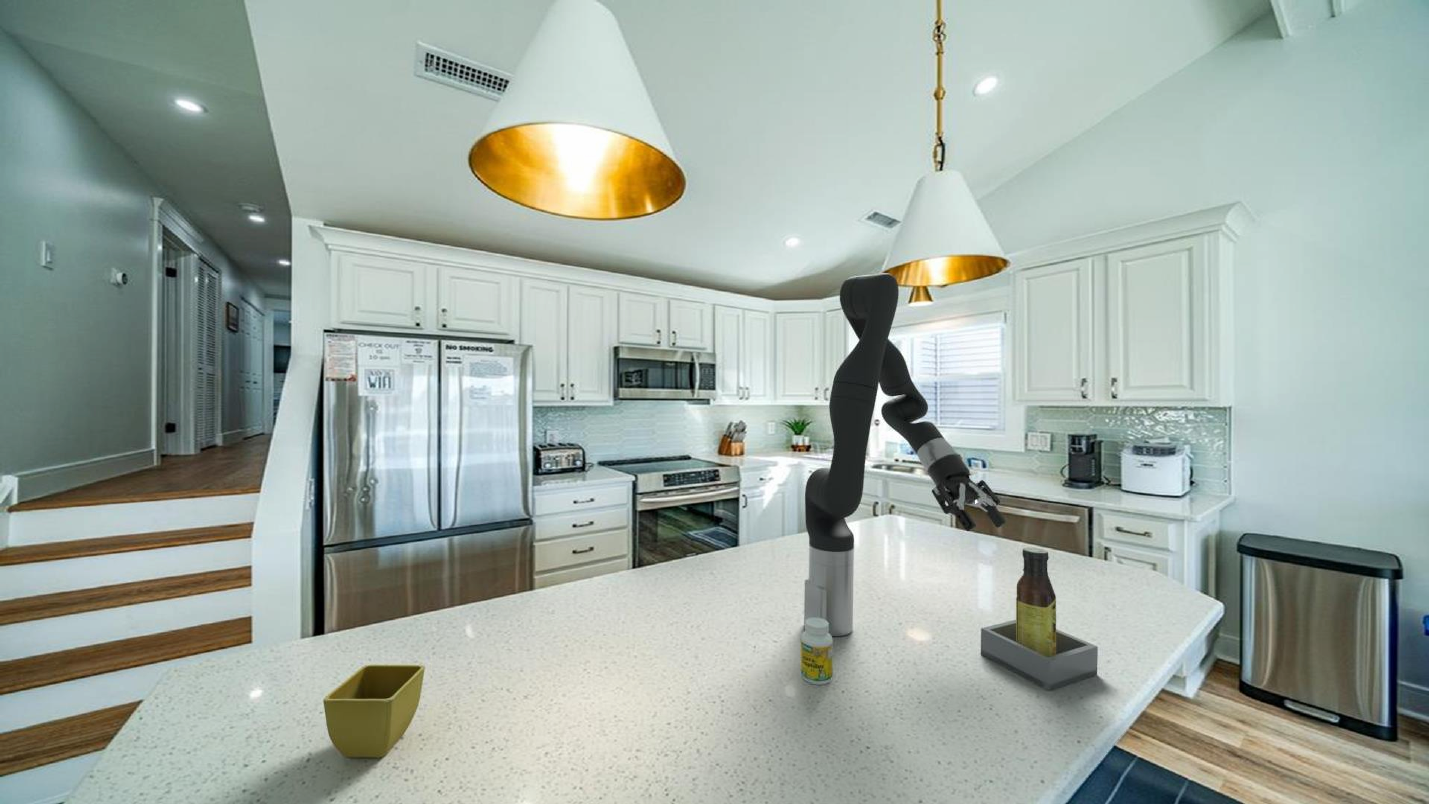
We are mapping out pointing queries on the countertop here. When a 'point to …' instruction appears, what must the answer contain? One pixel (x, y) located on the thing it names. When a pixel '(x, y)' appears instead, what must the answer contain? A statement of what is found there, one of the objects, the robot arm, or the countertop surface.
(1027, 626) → the sauce bottle
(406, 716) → the flower pot
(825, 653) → the supplement bottle
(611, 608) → the countertop surface
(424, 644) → the countertop surface
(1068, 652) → the gray tray
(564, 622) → the countertop surface
